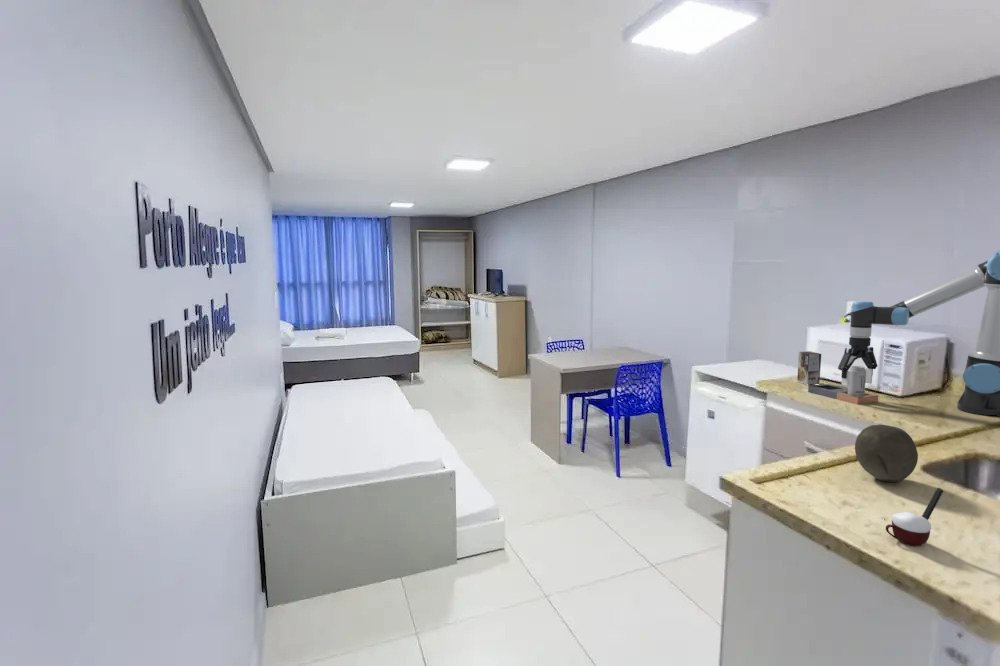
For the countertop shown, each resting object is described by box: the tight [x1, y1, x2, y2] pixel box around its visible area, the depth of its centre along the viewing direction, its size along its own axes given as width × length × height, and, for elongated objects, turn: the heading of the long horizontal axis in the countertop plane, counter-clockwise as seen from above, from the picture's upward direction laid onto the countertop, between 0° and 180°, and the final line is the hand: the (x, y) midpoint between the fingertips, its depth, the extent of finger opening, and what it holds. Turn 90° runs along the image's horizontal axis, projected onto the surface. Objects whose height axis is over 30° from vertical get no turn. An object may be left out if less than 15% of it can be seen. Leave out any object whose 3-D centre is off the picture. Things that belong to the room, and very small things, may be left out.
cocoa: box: [885, 487, 944, 547], centre depth 103 cm, size 10×6×12 cm, turn 56°
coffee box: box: [796, 351, 822, 386], centre depth 250 cm, size 9×6×16 cm
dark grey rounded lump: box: [854, 424, 919, 483], centre depth 134 cm, size 14×14×15 cm
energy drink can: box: [847, 365, 866, 396], centre depth 216 cm, size 6×6×15 cm
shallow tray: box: [807, 383, 880, 405], centre depth 223 cm, size 24×12×3 cm, turn 17°
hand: (856, 384), depth 216 cm, fingers open, 13 cm apart
